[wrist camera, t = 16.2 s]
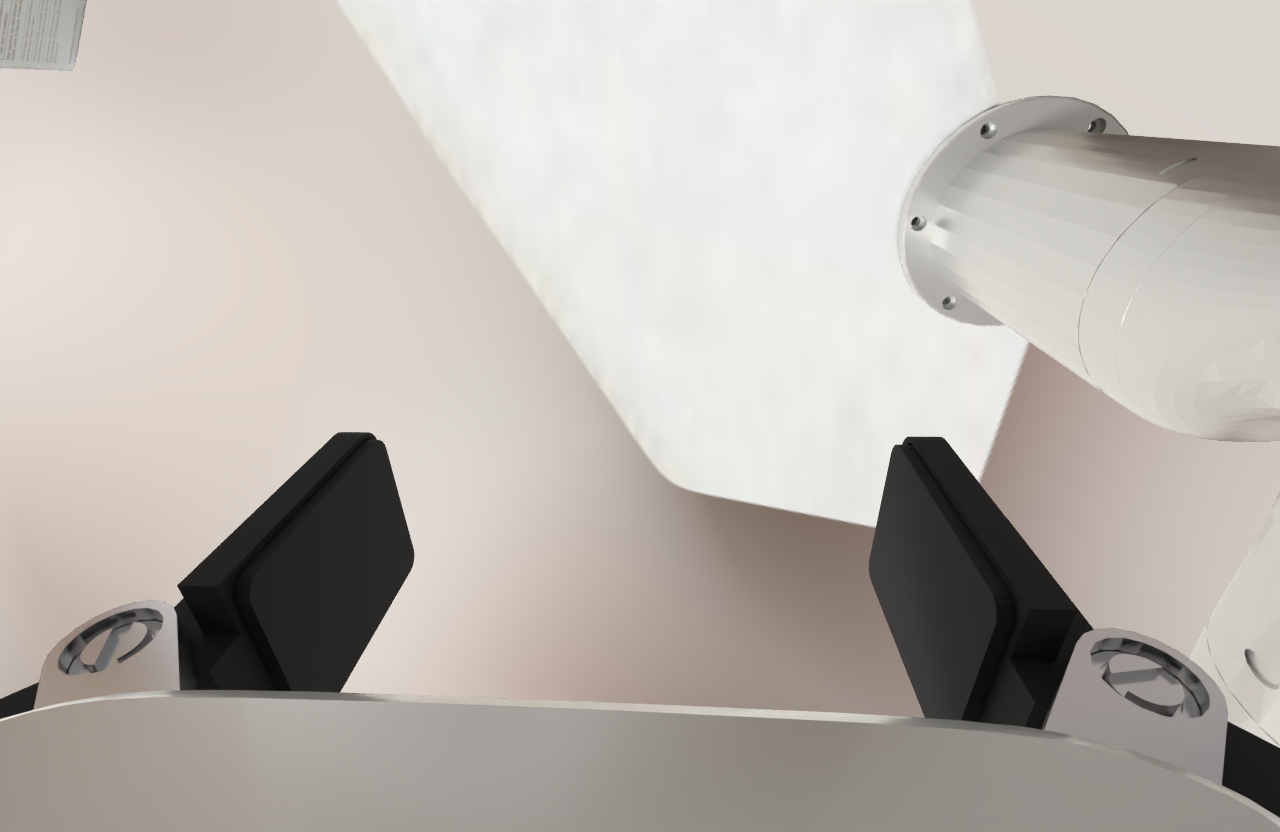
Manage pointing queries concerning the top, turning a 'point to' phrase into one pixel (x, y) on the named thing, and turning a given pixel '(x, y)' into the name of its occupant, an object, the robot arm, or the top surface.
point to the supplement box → (40, 33)
